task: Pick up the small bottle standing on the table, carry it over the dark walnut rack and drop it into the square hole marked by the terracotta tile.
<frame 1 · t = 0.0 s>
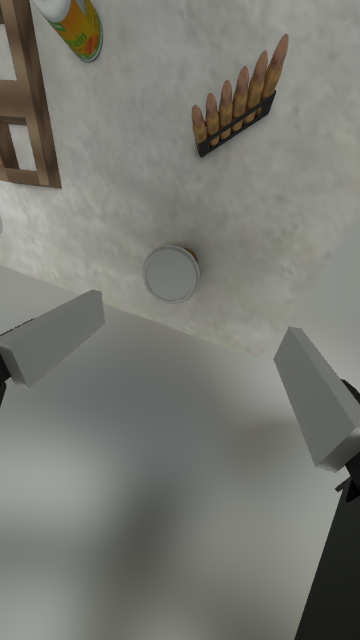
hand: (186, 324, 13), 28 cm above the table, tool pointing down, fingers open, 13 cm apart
disposable coffee cup: (183, 263, 39), on the table
rack: (20, 108, 32), on the table
ammunition clip: (230, 130, 28), on the table
supplement bottle: (87, 35, 26), on the table
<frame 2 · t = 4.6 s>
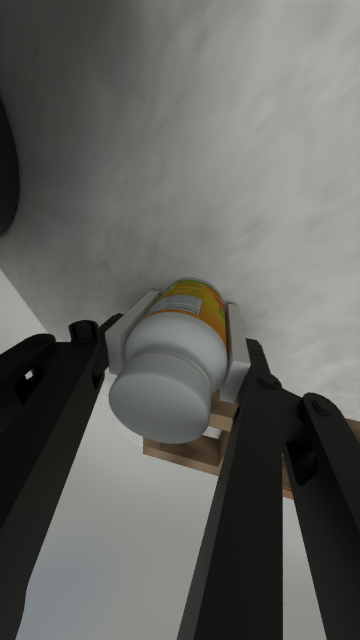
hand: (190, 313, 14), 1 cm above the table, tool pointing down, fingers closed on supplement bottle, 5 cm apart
rack: (242, 428, 21), on the table
supplement bottle: (192, 307, 15), on the table, touching gripper
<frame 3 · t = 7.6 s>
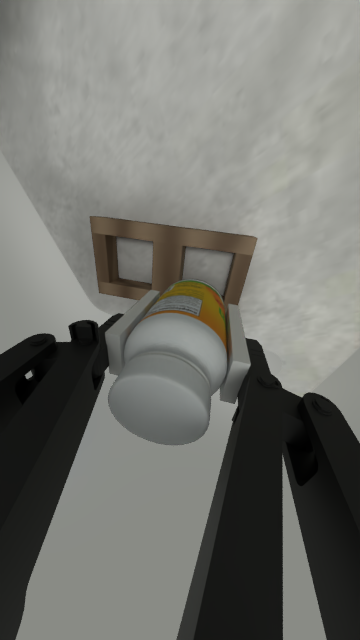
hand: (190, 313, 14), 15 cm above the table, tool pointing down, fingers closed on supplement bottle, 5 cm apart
rack: (170, 265, 28), on the table
supplement bottle: (192, 308, 15), point 14 cm above the table, touching gripper
when the fingers open (5 cm above the table, at t = 10.5 s): supplement bottle drops 4 cm, resting in rack.
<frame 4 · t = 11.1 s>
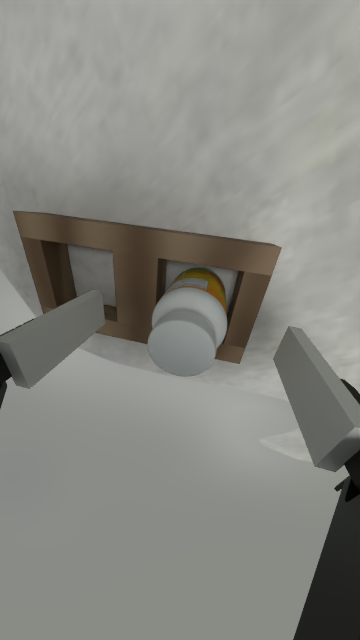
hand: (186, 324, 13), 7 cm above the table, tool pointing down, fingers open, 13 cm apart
rack: (146, 284, 19), on the table
supplement bottle: (198, 292, 19), resting in rack
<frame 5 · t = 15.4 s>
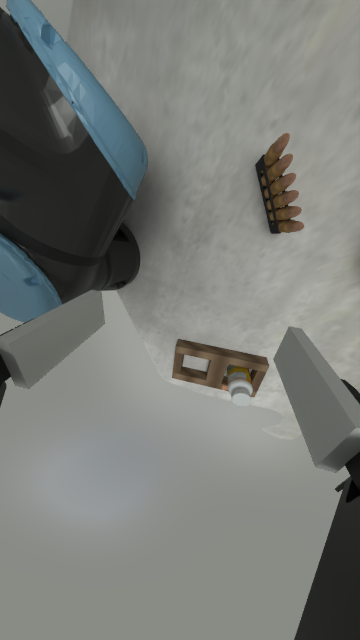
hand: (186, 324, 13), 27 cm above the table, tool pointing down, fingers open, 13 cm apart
rack: (216, 364, 48), on the table
ammunition clip: (269, 198, 30), on the table
supplement bottle: (237, 368, 47), resting in rack
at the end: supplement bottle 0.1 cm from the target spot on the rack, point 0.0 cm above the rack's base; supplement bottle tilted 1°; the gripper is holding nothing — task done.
